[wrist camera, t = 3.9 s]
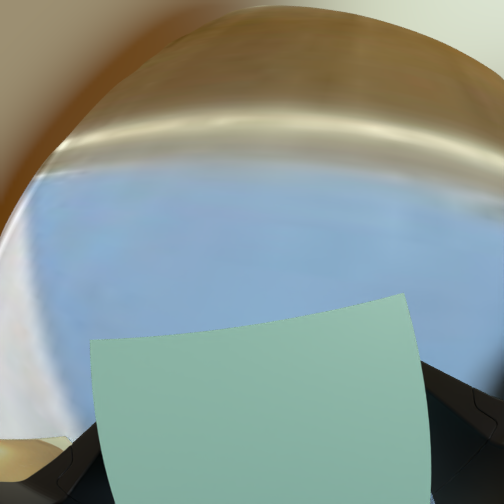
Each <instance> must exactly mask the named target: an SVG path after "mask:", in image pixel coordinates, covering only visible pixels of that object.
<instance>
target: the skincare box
mask: <svg viewBox="0 0 504 504" xmlns="http://www.w3.org/2000/svg"><path fill="white" fill-rule="evenodd" d="M70 445H72V443H71V442H70V441H69V439H68V438H67V437H65V436H63V437H53V438H40V439H0V482H17V481H22V480H24V479H27V478H28V477H30V476H31V475H33V474H34V473H36V472H37V471H38V470H40V469H41V468H43V467H44V466H45V465H47V464H48V463H50V462H51V461H52V460H54V459H55V458H56V457H57V456H59V455H60V454H61V453H62V452H63V451H64V450H65V449H67V448H68V447H69V446H70Z"/></svg>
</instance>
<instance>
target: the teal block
mask: <svg viewBox="0 0 504 504" xmlns="http://www.w3.org/2000/svg"><path fill="white" fill-rule="evenodd" d="M90 359H91V377H92V389H93V399H94V408H95V415H96V422H97V429H98V435H99V440H100V446H101V451H102V455H103V460H104V464H105V469H106V473H107V476H108V480H109V484H110V487H111V491H112V494H113V498H114V501H115V504H430V494H431V446H430V430H429V418H428V409H427V400H426V393H425V386H424V380H423V373H422V368H421V362H420V357H419V352H418V347H417V343H416V338H415V334H414V329H413V325H412V321H411V317H410V313H409V310H408V306H407V302H406V299H405V295H404V293H401V294H398V295H394V296H390V297H386V298H382V299H378V300H374V301H370V302H366V303H362V304H358V305H353V306H349V307H345V308H340V309H336V310H331V311H326V312H321V313H316V314H311V315H306V316H301V317H296V318H290V319H285V320H279V321H273V322H267V323H261V324H255V325H248V326H241V327H234V328H227V329H220V330H212V331H204V332H195V333H186V334H176V335H165V336H153V337H140V338H124V339H104V340H90Z"/></svg>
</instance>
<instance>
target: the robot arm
mask: <svg viewBox="0 0 504 504" xmlns="http://www.w3.org/2000/svg"><path fill="white" fill-rule="evenodd" d="M420 362H421V368H422V373H423V380H424V386H425V393H426V400H427V409H428V418H429V430H430V446H431V493H432V495H433V499H434V501H435V504H504V401H503V400H501V399H498V398H495V397H493V396H490V395H488V394H486V393H484V392H482V391H480V390H478V389H476V388H472V386H470V385H468V384H466V383H464V382H462V381H460V380H458V379H456V378H454V377H452V376H450V375H448V374H446V373H444V372H442V371H440V370H438V369H436V368H434V367H432V366H430V365H428V364H426V363H425V362H423V361H421V360H420ZM0 504H115V501H114V498H113V494H112V491H111V487H110V484H109V480H108V476H107V473H106V469H105V464H104V460H103V455H102V451H101V446H100V440H99V435H98V429H97V422H95V423H94V424H93V425H92V426H91V427H90V428H89V429H87V430H86V431H85V432H84V433H83V434H82V435H81V436H80V437H79V438H78V439H77V440H75V441H74V442H73V443H72V445H70V446H69V447H68V448H67V449H65V450H64V451H63V452H62V453H61V454H60V455H59V456H57V457H56V458H55V459H54V460H52V461H51V462H50V463H48V464H47V465H45V466H44V467H43V468H41V469H40V470H38V471H37V472H36V473H34V474H33V475H31V476H30V477H28V478H27V479H24V480H22V481H17V482H0Z"/></svg>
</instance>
